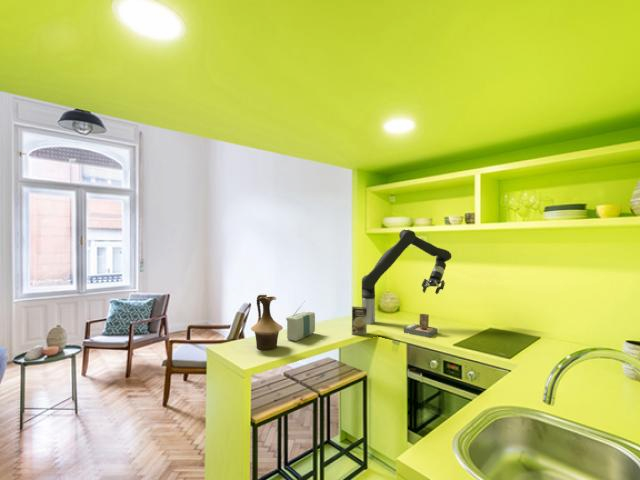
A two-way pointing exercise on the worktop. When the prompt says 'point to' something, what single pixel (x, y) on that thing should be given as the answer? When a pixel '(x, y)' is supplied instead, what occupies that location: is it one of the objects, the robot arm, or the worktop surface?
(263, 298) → the pitcher
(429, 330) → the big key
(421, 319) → the reddish brown block
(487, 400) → the worktop surface
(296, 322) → the stereo radio cassette player
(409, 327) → the keypad
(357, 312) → the coffee box
